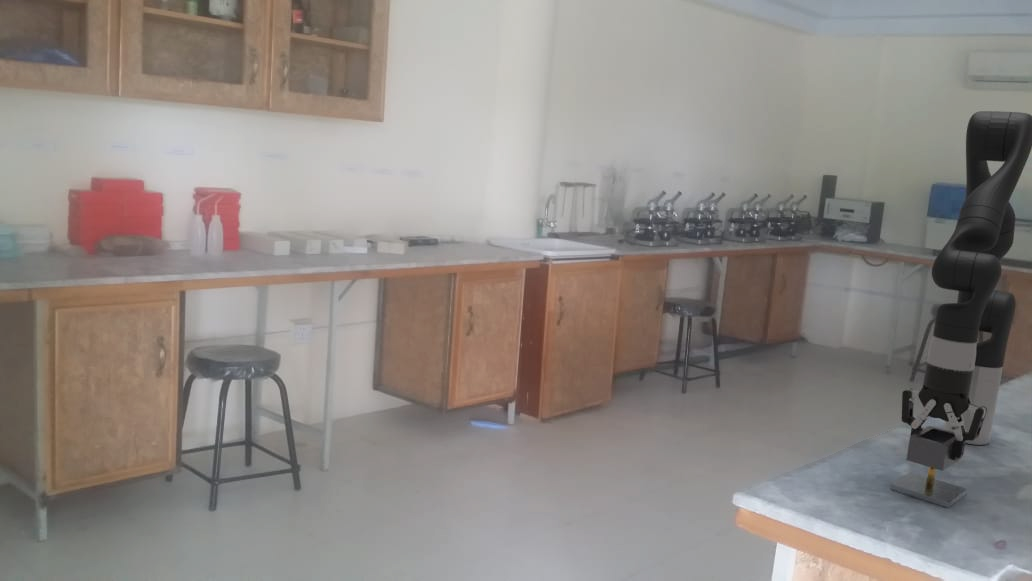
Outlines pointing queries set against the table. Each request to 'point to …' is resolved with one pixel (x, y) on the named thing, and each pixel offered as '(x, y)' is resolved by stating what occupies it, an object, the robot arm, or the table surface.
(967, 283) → the robot arm
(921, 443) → the grey storage bin
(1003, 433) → the table surface
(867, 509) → the table surface
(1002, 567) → the table surface
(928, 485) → the peg plate
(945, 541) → the table surface
